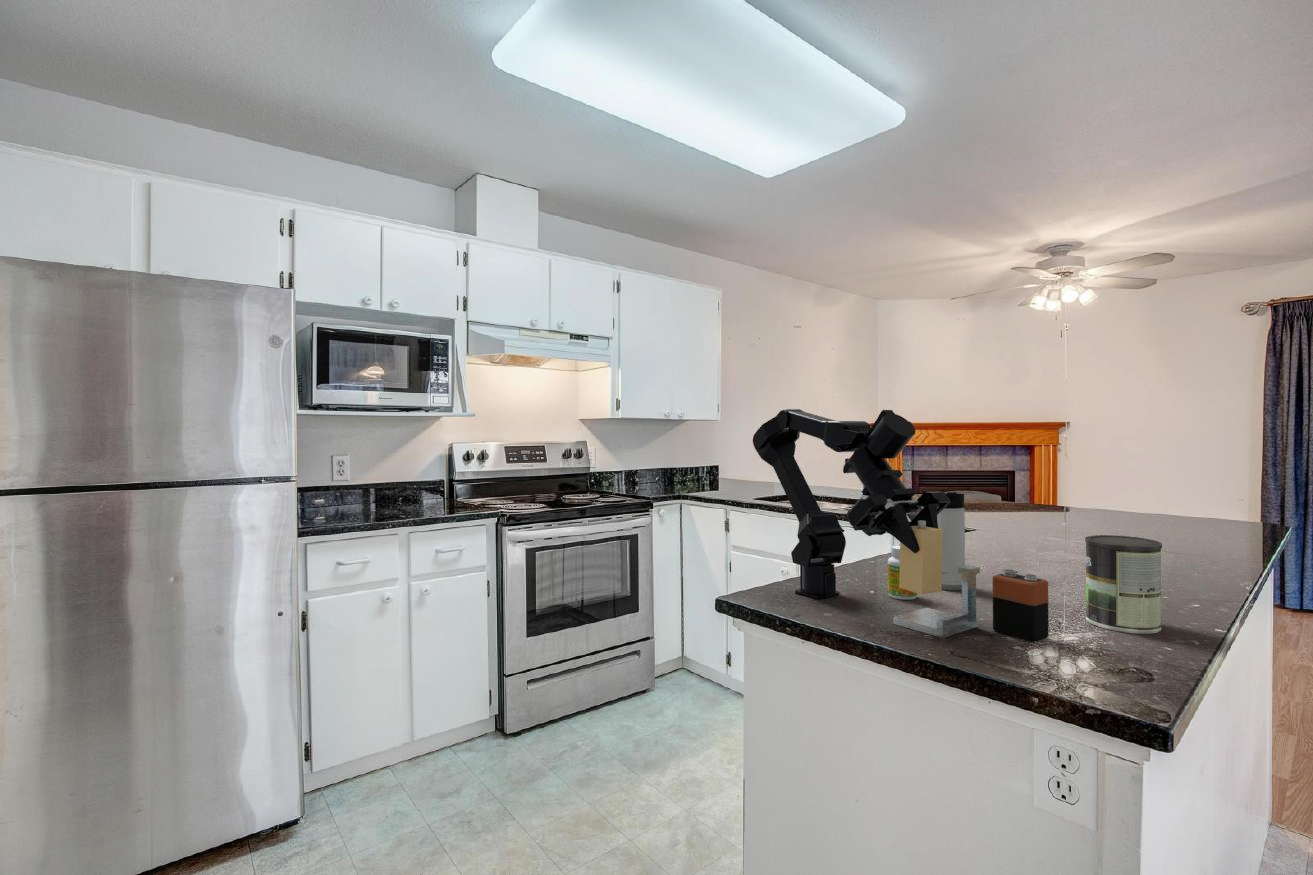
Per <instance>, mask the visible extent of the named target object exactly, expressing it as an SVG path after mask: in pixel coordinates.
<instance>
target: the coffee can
mask: <svg viewBox="0 0 1313 875" xmlns="http://www.w3.org/2000/svg"><path fill="white" fill-rule="evenodd" d="M1084 542H1085V600H1086V602H1085V614H1086V615H1085V621H1086V622H1087V623H1089V624H1091V625H1092V626H1096V627H1098V628H1101V629H1104V630H1109V631H1113V632H1118V633H1125V634H1126V633H1127V634H1134V635H1135V634H1138V635H1149V634H1157V633H1160V632H1161V631H1162V620H1161V619H1162V548H1163V543H1162V542H1161V541H1158V540H1154V539H1151V538H1150V539H1149V538H1144V537H1137V536H1130V535H1129V536H1127V535H1112V534H1111V535H1110V534H1104V535H1103V534H1101V535H1087V536H1086V537H1085V538H1084Z"/></svg>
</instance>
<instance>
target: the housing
mask: <svg viewBox="0 0 1313 875" xmlns="http://www.w3.org/2000/svg"><path fill="white" fill-rule="evenodd" d="M911 527H912V530H913V532H914V534H915V537H916V539H917V542H918V545H919V548H920V550H919V551H918V552H917V553H913V552H912V551H911V550H910V549H909V548H907V547H906V546H905V545H904V544H902V543H901V542H900V541H899V543H900V544H899V546H900V574H899V588H902V589H905V590H909V591H912V592H915V593H917V594H919V595H926V594H927V595H928V594H932V593H933V594H934V593H940V592H942V589H941V585H942V547H943V530H942V529H937V528H931V527H926V521H922V520H918V526H911Z"/></svg>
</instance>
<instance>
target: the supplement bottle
mask: <svg viewBox="0 0 1313 875" xmlns="http://www.w3.org/2000/svg"><path fill="white" fill-rule="evenodd" d="M890 548H891V549H890V552H891V555H892V556H891V557H889V558H888V560H887V595H888V596H889V597H890V598H892V599H895V600H905V601H906V600H907V601H908V600H909V601H911V600H915V599H917V598H918V593H915V592H912V591H909V590H905V589H902V588H899V574H900V545H893V546H891V547H890Z"/></svg>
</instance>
